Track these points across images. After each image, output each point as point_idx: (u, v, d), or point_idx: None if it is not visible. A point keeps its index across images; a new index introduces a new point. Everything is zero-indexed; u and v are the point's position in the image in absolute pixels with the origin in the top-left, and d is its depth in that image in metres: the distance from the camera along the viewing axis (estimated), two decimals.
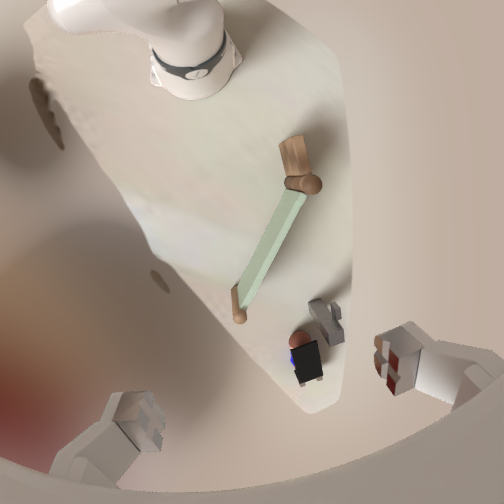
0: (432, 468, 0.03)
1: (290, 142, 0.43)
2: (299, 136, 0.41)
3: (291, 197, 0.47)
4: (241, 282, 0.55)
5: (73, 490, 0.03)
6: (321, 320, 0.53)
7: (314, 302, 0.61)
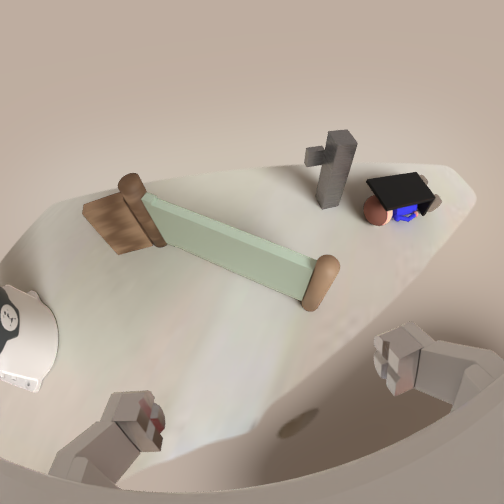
0: (432, 468, 0.03)
1: (94, 222, 0.34)
2: (84, 207, 0.32)
3: (158, 220, 0.36)
4: (289, 290, 0.35)
5: (73, 490, 0.03)
6: (330, 170, 0.37)
7: (320, 200, 0.45)
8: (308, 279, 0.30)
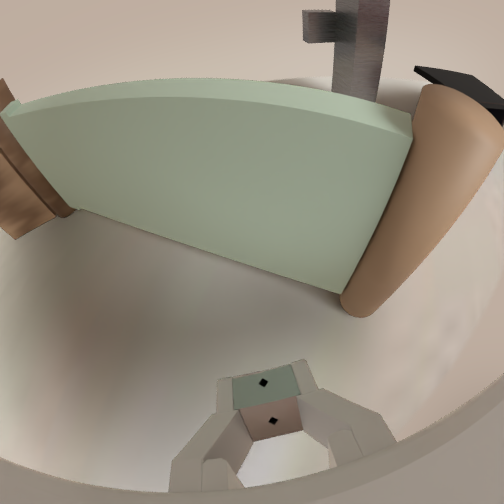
0: (432, 468, 0.03)
1: None
2: None
3: (31, 152, 0.14)
4: (309, 267, 0.13)
5: (73, 490, 0.03)
6: (353, 38, 0.15)
7: None
8: (382, 203, 0.07)
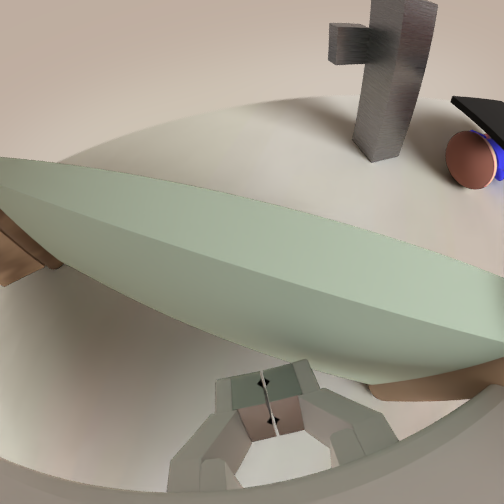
0: (432, 468, 0.03)
1: None
2: None
3: (5, 210, 0.11)
4: (345, 373, 0.10)
5: (73, 490, 0.03)
6: (392, 63, 0.12)
7: (365, 144, 0.20)
8: (455, 369, 0.05)
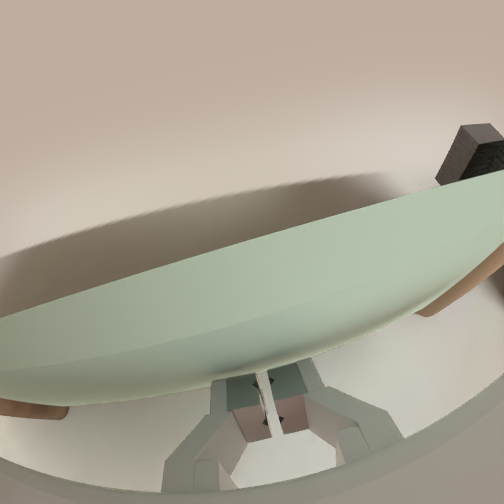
0: (432, 468, 0.03)
1: None
2: None
3: None
4: (410, 311, 0.11)
5: (73, 490, 0.03)
6: None
7: None
8: None
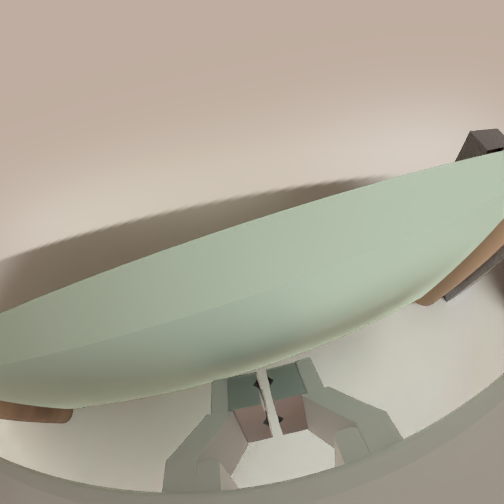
0: (432, 468, 0.03)
1: None
2: None
3: None
4: (410, 299, 0.11)
5: (73, 490, 0.03)
6: None
7: None
8: (498, 223, 0.07)
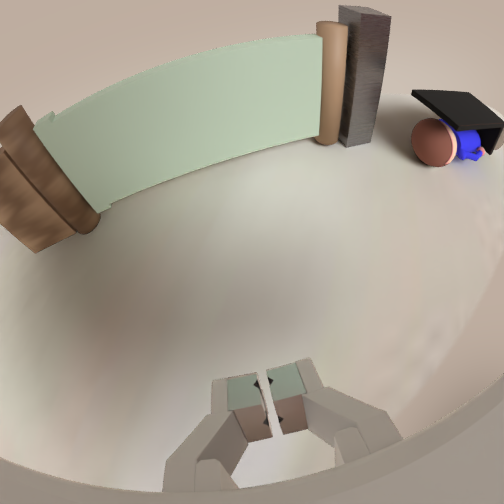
0: (432, 468, 0.03)
1: None
2: None
3: (69, 157, 0.17)
4: (300, 123, 0.22)
5: (73, 490, 0.03)
6: (354, 67, 0.17)
7: (340, 132, 0.25)
8: (320, 65, 0.17)
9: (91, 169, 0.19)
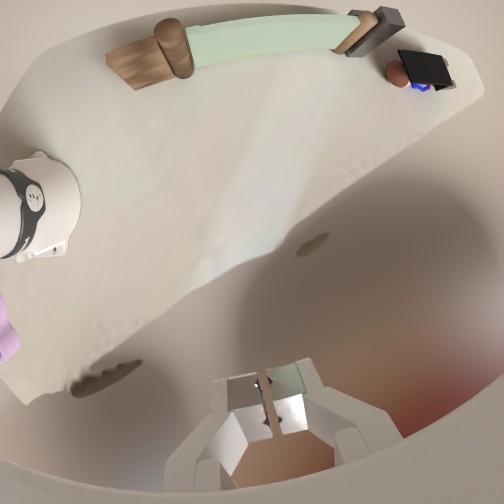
0: (432, 468, 0.03)
1: (118, 68, 0.25)
2: (107, 57, 0.23)
3: (200, 47, 0.27)
4: (328, 44, 0.32)
5: (73, 490, 0.03)
6: (370, 35, 0.27)
7: None
8: (352, 30, 0.27)
9: (209, 51, 0.29)
